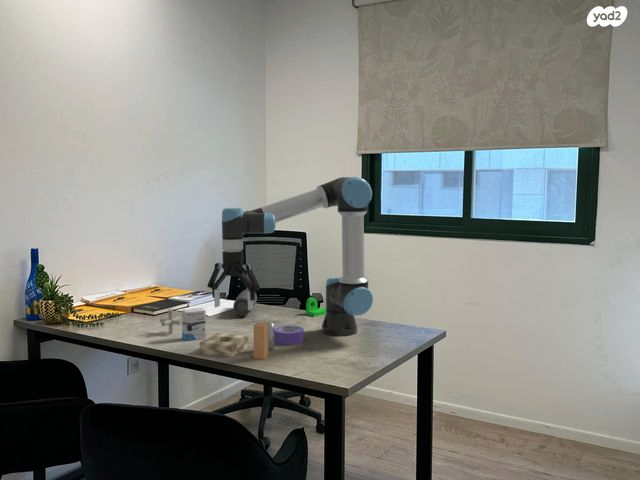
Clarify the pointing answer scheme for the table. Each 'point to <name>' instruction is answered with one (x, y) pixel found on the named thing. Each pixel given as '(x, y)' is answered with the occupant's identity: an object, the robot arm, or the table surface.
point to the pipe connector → (170, 321)
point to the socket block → (224, 344)
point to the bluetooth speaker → (243, 303)
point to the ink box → (193, 324)
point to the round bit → (270, 336)
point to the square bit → (261, 340)
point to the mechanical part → (314, 308)
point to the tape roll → (288, 335)
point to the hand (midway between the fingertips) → (233, 307)
